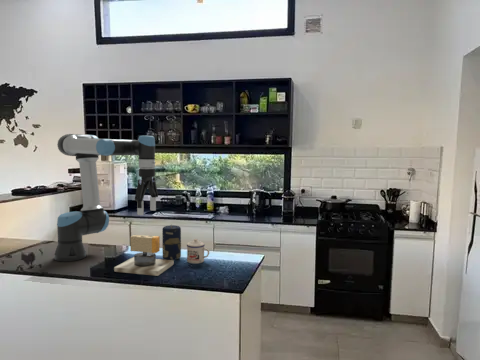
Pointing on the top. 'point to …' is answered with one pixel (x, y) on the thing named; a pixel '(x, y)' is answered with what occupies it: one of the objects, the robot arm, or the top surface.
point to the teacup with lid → (196, 251)
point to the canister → (171, 242)
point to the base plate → (144, 267)
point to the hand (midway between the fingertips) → (146, 212)
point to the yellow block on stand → (145, 249)
